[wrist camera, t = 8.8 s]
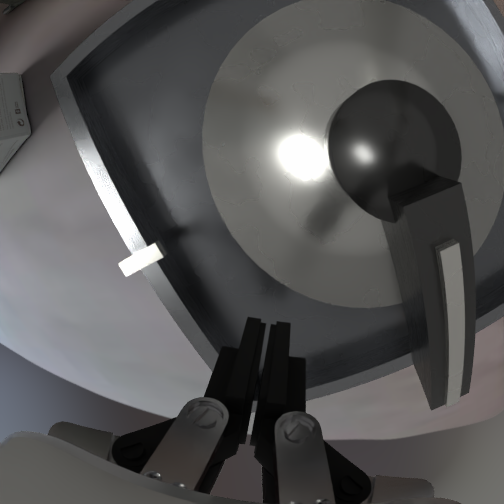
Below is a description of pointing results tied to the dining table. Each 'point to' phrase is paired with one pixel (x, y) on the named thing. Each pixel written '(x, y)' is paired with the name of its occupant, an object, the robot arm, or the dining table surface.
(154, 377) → the dining table surface
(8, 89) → the skincare box
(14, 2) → the green cucumber
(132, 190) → the housing
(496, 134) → the dial
